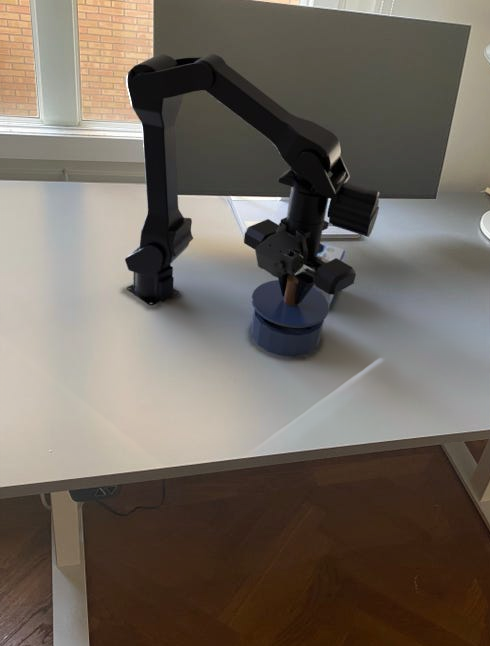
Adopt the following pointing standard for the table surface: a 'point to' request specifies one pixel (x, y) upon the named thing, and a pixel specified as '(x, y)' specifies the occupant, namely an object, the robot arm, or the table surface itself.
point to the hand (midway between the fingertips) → (291, 299)
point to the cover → (289, 304)
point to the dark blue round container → (285, 338)
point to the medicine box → (330, 254)
